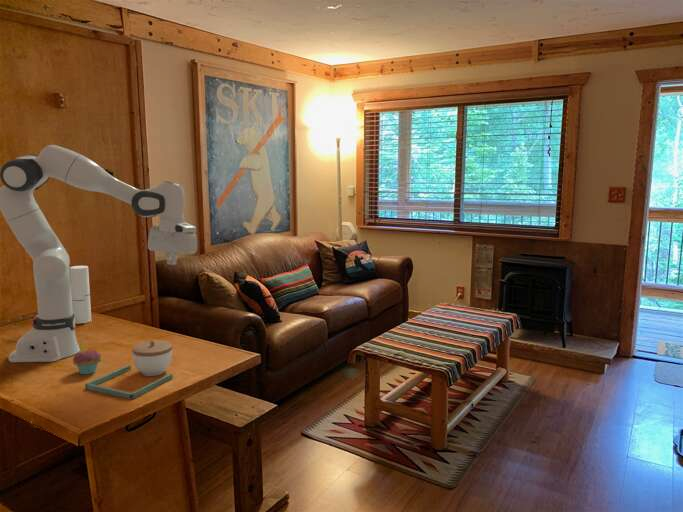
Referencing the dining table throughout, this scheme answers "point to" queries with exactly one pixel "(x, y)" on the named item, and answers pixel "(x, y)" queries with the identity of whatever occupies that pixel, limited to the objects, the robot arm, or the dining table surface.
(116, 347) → the dining table surface
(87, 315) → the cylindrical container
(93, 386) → the teal u-shaped frame
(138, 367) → the lidded bowl
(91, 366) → the cupcake
